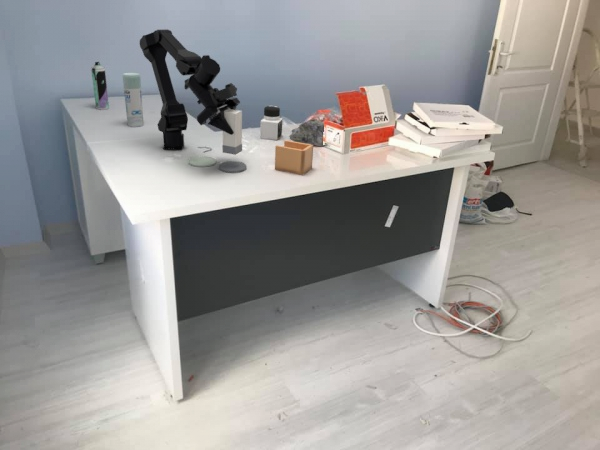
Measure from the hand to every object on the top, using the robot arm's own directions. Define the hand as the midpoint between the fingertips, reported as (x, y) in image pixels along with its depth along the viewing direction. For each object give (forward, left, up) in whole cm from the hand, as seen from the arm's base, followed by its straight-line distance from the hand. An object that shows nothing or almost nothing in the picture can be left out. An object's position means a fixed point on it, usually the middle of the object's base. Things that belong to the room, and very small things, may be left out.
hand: (236, 132), depth 156 cm
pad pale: (-11, +6, -12) cm, 17 cm away
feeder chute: (+19, +1, -12) cm, 22 cm away
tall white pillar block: (-1, +1, -7) cm, 7 cm away
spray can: (-59, +78, -12) cm, 98 cm away
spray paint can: (-40, +51, -12) cm, 66 cm away
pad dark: (-1, +1, -12) cm, 12 cm away
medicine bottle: (+14, +38, -12) cm, 42 cm away
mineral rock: (+28, +30, -12) cm, 43 cm away
